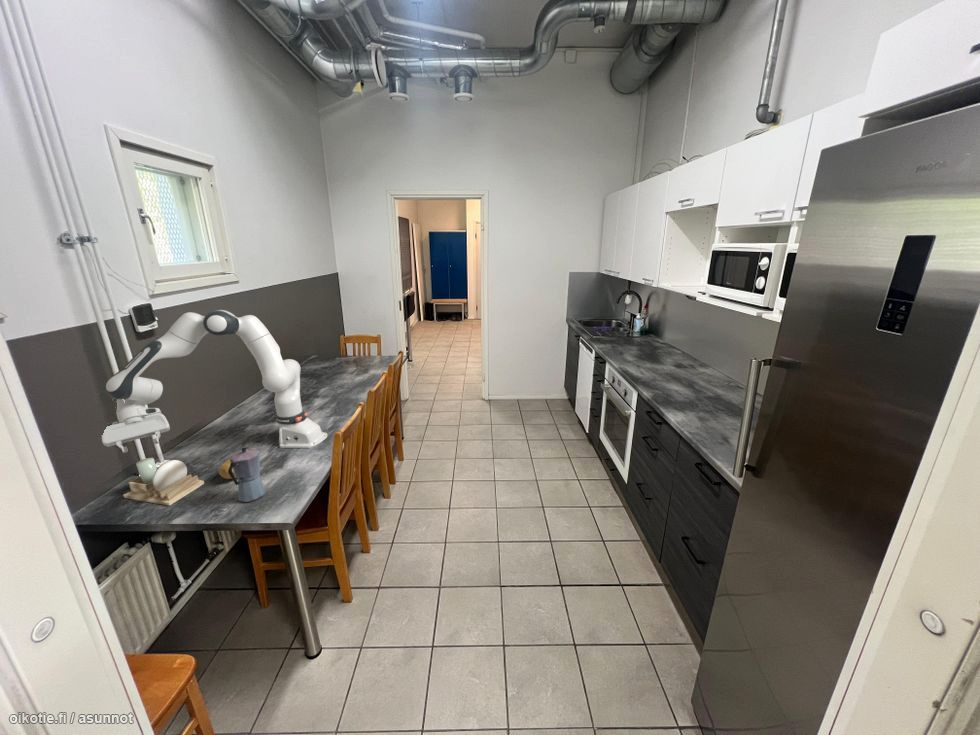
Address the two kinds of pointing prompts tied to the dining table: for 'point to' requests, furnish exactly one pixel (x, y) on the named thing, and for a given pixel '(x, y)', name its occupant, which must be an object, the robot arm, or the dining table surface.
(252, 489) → the moka pot
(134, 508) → the dining table surface
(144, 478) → the pale green glossy part
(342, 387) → the dining table surface
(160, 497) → the rack
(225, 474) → the potato
